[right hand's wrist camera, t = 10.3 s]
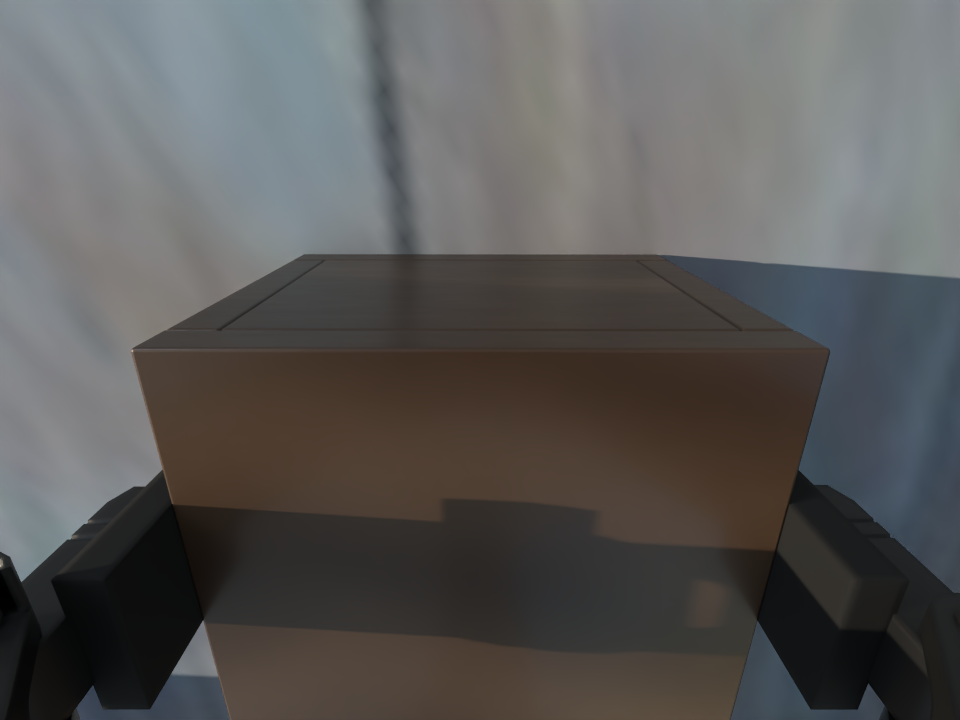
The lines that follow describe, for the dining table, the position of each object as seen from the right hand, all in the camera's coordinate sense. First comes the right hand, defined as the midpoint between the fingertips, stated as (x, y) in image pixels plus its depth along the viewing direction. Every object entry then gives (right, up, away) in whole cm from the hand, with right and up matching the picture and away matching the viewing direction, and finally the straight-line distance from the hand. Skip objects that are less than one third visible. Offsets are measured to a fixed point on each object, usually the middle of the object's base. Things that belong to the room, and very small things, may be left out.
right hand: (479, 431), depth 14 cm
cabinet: (0, -5, +6) cm, 7 cm away
